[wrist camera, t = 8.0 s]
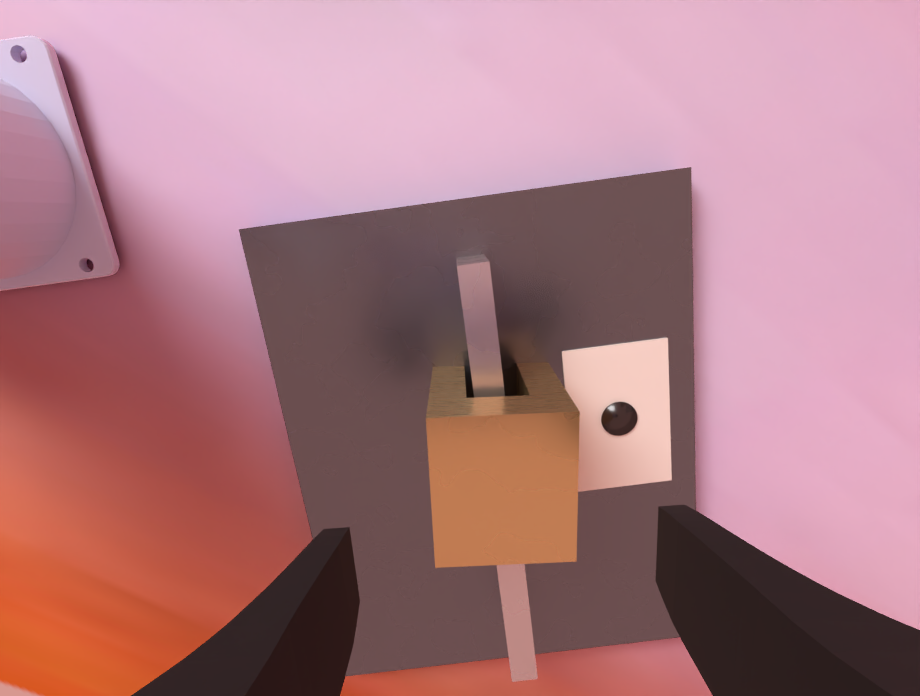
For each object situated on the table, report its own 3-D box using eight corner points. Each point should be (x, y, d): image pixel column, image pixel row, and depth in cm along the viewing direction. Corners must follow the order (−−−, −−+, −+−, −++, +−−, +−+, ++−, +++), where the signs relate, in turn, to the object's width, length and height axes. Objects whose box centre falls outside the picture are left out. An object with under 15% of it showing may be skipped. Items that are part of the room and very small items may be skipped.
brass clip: (439, 484, 20) (435, 567, 16) (432, 367, 19) (426, 418, 14) (547, 479, 20) (576, 561, 16) (547, 362, 19) (579, 411, 14)
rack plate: (350, 657, 24) (330, 743, 20) (249, 228, 19) (196, 232, 15) (687, 617, 23) (733, 697, 20) (678, 169, 18) (738, 157, 15)
